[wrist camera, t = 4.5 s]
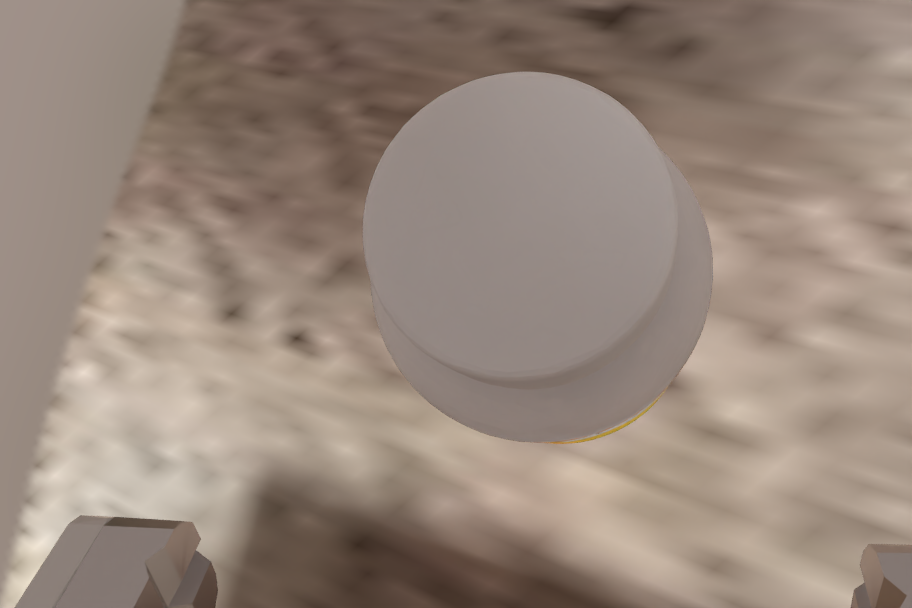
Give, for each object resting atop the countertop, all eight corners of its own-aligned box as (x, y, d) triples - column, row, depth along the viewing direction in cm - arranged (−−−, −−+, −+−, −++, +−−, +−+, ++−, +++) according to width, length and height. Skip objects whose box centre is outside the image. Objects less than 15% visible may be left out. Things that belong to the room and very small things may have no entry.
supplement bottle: (408, 292, 21) (234, 164, 12) (600, 171, 21) (582, -63, 11) (525, 488, 20) (436, 527, 10) (731, 364, 19) (836, 284, 10)
